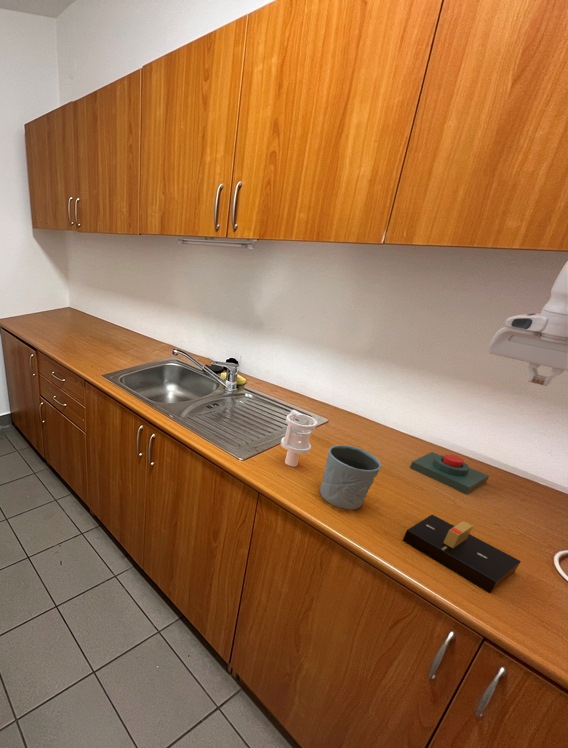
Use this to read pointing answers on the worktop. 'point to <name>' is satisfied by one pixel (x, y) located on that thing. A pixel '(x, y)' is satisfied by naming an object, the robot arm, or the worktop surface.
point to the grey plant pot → (348, 476)
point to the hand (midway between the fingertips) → (538, 383)
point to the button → (452, 460)
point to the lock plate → (462, 554)
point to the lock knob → (458, 534)
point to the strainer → (297, 437)
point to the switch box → (449, 473)
